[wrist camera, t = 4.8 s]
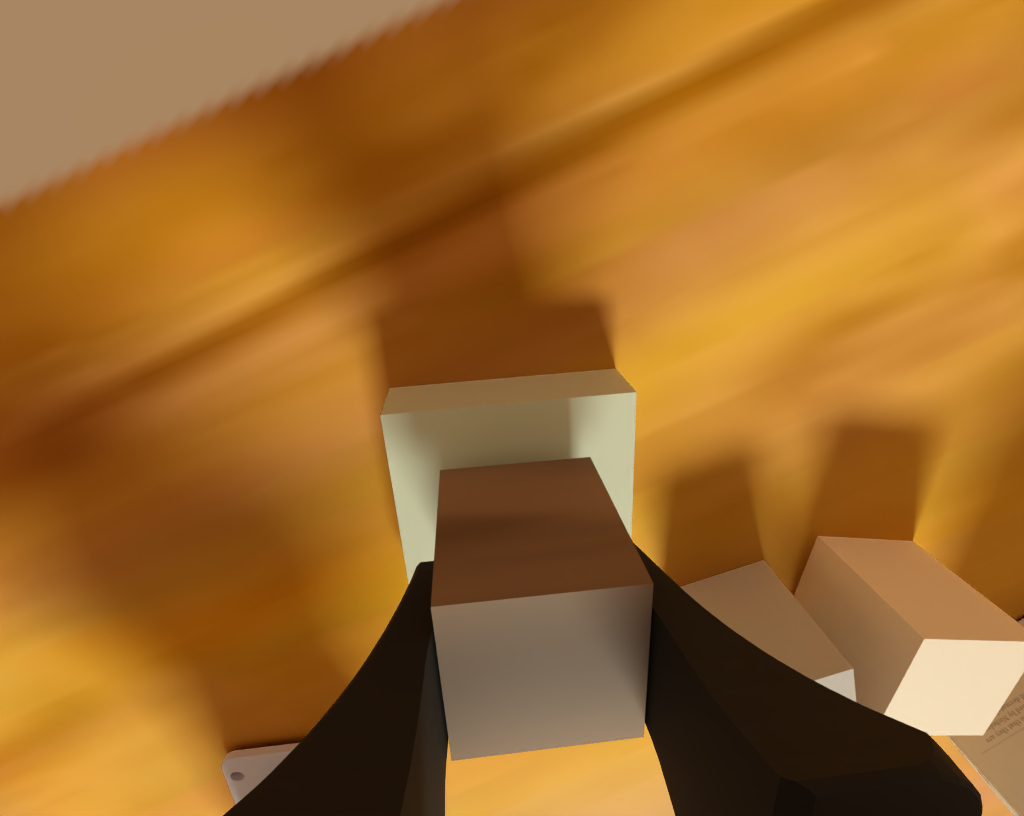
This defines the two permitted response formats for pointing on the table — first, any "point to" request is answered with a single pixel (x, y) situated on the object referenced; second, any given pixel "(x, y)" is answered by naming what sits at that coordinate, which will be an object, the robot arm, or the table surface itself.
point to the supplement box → (1001, 750)
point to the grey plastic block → (774, 623)
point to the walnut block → (537, 610)
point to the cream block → (913, 633)
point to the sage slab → (503, 438)
